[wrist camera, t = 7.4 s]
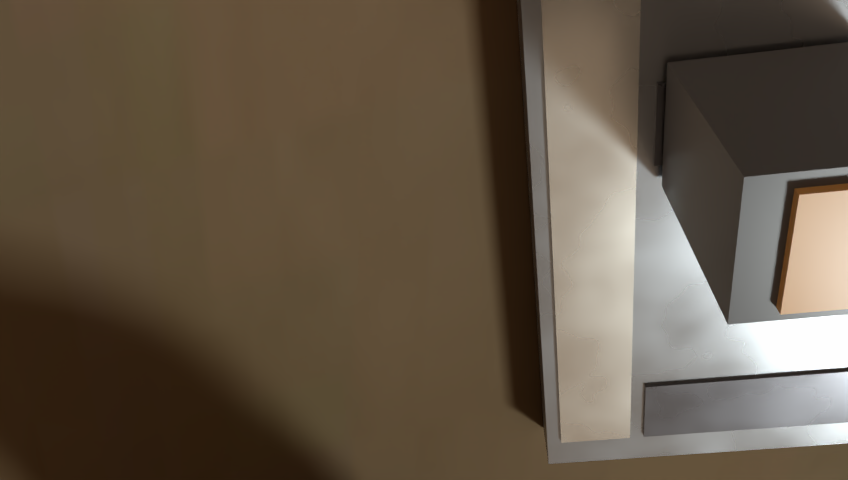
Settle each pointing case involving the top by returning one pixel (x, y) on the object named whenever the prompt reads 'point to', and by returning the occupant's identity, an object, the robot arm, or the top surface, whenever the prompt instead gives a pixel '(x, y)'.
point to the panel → (653, 243)
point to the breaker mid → (763, 178)
